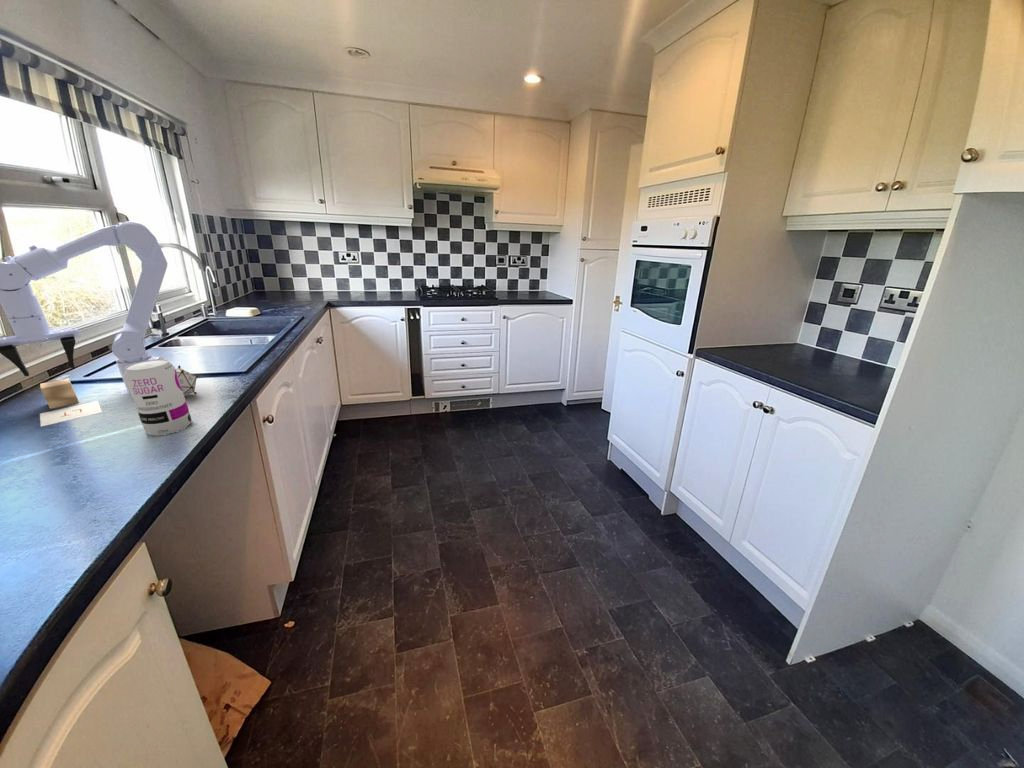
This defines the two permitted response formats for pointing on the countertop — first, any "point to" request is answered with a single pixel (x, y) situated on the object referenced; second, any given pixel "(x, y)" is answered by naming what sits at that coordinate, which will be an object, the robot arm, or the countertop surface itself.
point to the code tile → (69, 413)
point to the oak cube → (59, 393)
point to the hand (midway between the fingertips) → (50, 371)
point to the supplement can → (158, 396)
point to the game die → (186, 381)
